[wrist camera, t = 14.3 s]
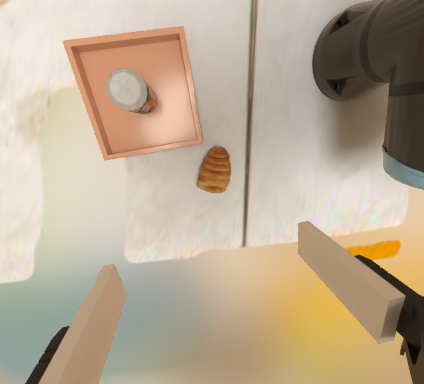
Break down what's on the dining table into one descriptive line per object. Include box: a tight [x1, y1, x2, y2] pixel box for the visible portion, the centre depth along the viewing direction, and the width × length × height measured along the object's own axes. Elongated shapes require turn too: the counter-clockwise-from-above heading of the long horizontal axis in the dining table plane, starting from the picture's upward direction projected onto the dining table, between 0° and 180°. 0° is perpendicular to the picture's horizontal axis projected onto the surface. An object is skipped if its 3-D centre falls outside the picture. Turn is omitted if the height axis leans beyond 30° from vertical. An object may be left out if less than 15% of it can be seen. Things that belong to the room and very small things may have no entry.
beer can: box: [106, 68, 157, 114], centre depth 29 cm, size 5×5×12 cm
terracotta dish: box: [63, 26, 203, 160], centre depth 34 cm, size 18×18×4 cm
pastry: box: [197, 147, 231, 193], centre depth 40 cm, size 9×7×4 cm
